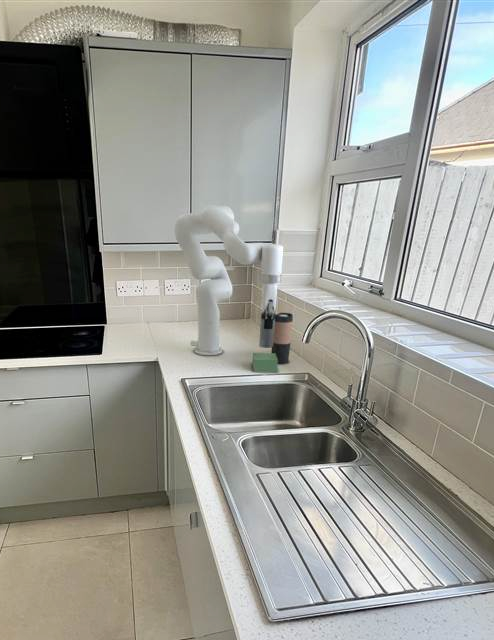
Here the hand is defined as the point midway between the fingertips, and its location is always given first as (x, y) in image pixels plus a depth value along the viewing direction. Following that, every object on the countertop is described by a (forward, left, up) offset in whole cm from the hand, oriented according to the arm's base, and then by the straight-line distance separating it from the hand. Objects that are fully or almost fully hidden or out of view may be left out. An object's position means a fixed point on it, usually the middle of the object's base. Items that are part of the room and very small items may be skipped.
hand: (267, 326), depth 157 cm
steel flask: (0, 0, -8) cm, 8 cm away
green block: (0, 0, -17) cm, 17 cm away
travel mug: (+3, +11, -17) cm, 21 cm away
